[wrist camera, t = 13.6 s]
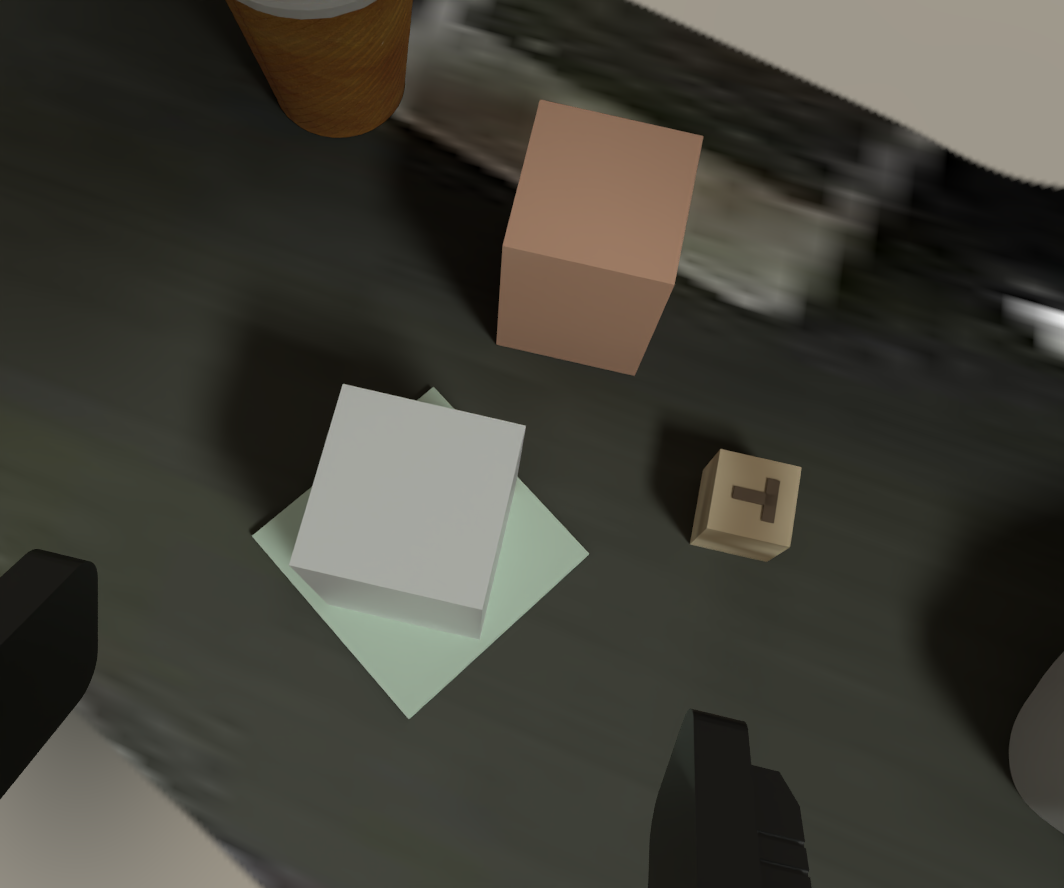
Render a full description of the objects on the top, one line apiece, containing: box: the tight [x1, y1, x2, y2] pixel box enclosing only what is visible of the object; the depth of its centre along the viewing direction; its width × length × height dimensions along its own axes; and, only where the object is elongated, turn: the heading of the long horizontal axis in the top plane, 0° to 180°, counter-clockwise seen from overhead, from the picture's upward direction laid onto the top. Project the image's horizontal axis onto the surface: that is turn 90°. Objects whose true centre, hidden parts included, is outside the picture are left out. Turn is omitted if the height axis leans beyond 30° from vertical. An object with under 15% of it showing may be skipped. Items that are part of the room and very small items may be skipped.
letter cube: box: [690, 449, 802, 562], centre depth 43 cm, size 3×3×4 cm
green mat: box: [252, 387, 589, 719], centre depth 43 cm, size 10×10×1 cm
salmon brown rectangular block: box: [496, 100, 703, 376], centre depth 42 cm, size 6×6×9 cm
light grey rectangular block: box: [289, 384, 526, 640], centre depth 38 cm, size 6×6×9 cm
